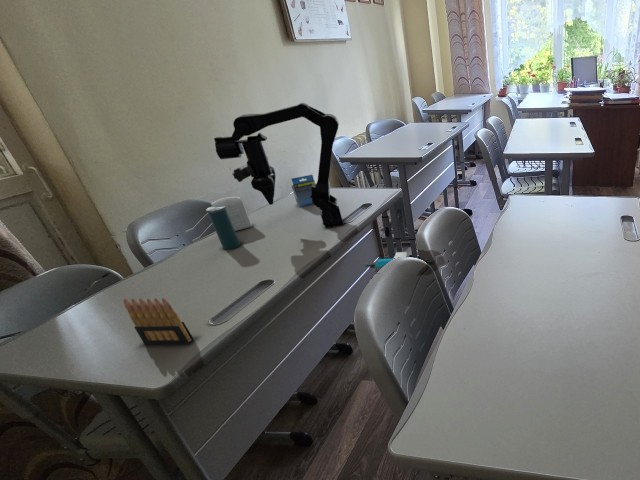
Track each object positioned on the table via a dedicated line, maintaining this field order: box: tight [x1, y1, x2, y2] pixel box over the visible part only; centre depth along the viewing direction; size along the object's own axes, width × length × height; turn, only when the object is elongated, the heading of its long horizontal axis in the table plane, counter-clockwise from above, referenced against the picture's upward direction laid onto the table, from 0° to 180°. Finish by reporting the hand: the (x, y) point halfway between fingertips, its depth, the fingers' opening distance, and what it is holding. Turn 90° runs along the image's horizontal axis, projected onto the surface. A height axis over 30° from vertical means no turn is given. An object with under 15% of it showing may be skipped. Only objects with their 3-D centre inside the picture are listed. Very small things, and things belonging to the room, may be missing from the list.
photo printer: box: [210, 196, 252, 232], centre depth 148 cm, size 10×4×12 cm, turn 134°
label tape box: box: [290, 174, 316, 208], centre depth 171 cm, size 9×4×12 cm, turn 130°
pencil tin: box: [205, 205, 241, 250], centre depth 134 cm, size 6×6×14 cm
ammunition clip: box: [123, 297, 194, 346], centre depth 89 cm, size 11×2×12 cm, turn 88°
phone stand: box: [363, 251, 432, 274], centre depth 121 cm, size 20×12×2 cm, turn 91°
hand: (271, 200), depth 141 cm, fingers open, 9 cm apart
